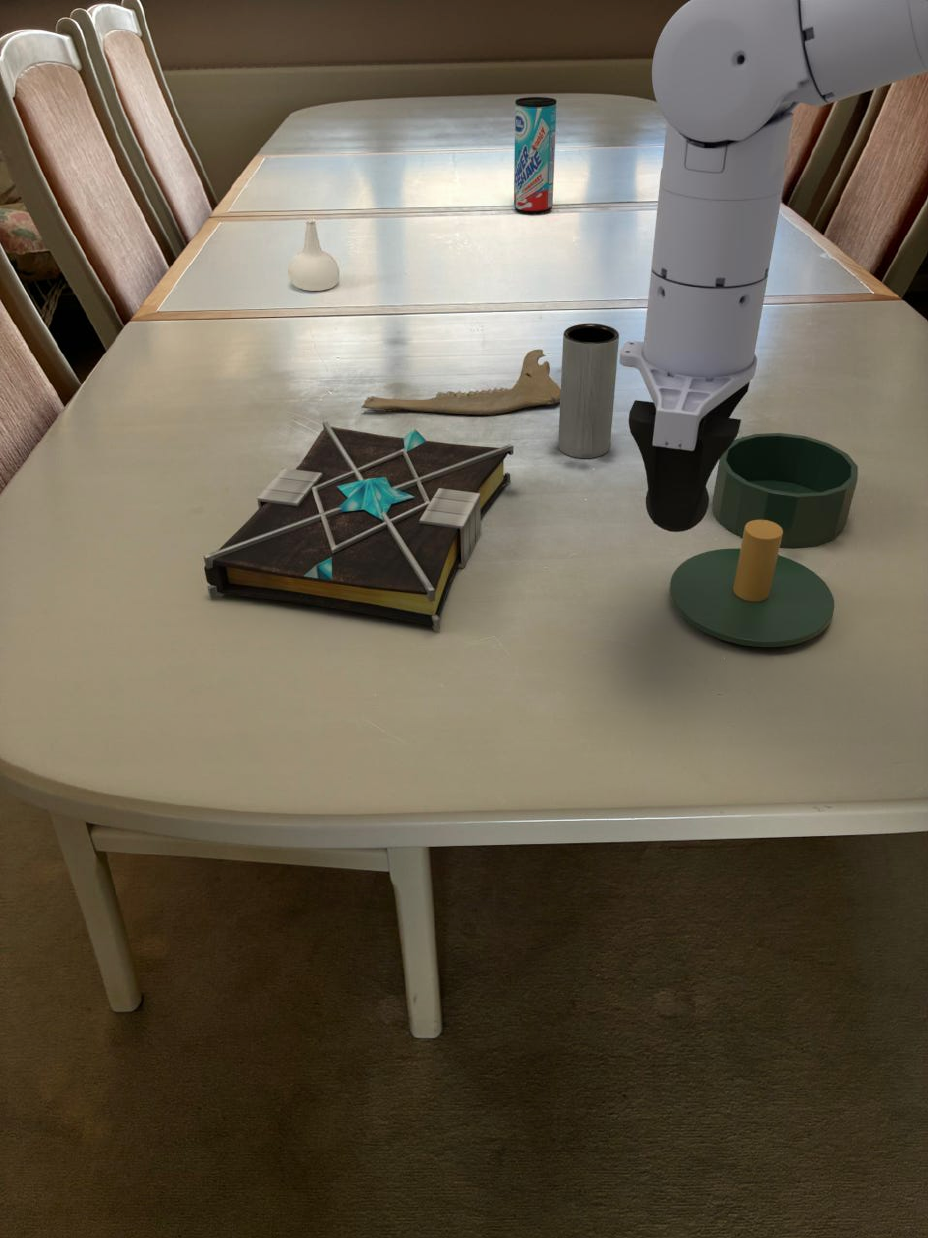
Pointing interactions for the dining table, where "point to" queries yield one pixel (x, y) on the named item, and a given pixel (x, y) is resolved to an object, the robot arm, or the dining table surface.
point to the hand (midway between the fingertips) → (676, 506)
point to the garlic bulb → (313, 264)
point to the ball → (698, 516)
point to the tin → (785, 487)
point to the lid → (752, 592)
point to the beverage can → (534, 154)
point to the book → (364, 525)
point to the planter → (587, 389)
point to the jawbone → (486, 394)
